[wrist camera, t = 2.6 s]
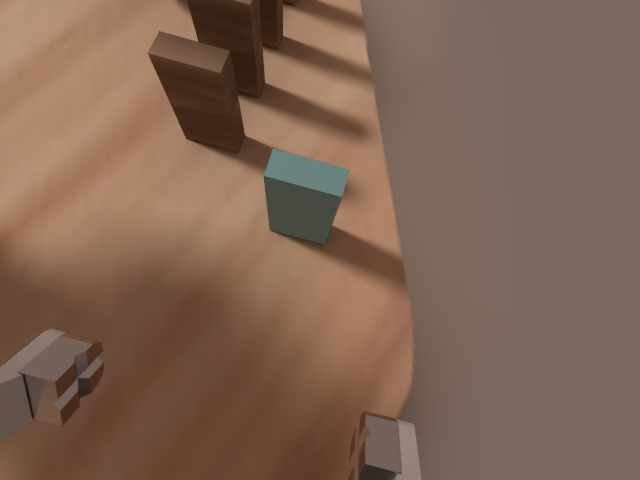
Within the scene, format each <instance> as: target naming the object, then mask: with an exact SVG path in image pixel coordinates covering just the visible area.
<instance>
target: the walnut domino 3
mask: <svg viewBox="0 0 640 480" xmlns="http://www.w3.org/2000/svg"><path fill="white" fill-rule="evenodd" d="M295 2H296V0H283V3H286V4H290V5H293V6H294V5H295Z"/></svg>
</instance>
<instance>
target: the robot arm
mask: <svg viewBox="0 0 640 480" xmlns="http://www.w3.org/2000/svg"><path fill="white" fill-rule="evenodd" d="M102 352H103V349H102V343H100V342H97V341H93V340H90V339H86V338H83V337H80V336H76V335H73V334H69V333H66V332H62V331H58V330H55V329H49V330H46V331H44V332H43V333H42V334H40V335H39V336H38V337H37V338H35V339H34V340H33V341H32V342H31V343H29V344H28V345H27V346H26V347H24V348H23V349H22V350H21V351H20V352H18V353H17V354H16V355H15V356H13V357H12V358H11V359H10V360H8V361H7V362H6V363H5V364H4V365H2V366H1V367H0V440H1V439H2V438H4V437H6V436H8V435H9V434H11V433H13V432H15V431H16V430H18V429H20V428H22V427H23V426H25V425H27V424H29V423H30V422H32V421H33V420H38V421H42V422H46V423H51V424H55V425H59V426H63V425H64V424H65V423H66V422H67V420H68V419H69V418H70V417H71V416H72V415H73V413H74V412H75V411H76V410H77V409H78V408H79V406H80V398H82V397H84V396H86V395H88V394H90V393H91V392H92V391H93V390H94V388H95V387H96V386H97V385H98V383H99V381H100V379H101V377H102V375H103V370H104V362H103V360H102V359H101V358H100V357H99V355H100V354H101V353H102ZM32 419H33V420H32ZM349 462H350V464H351V466H352V470H351V473H350V475H349V477H348V480H422V477H421V470H420V462H419V455H418V447H417V440H416V433H415V427H414V425H413V424H412V423H408V422H405V421H401V420H397V419H395V418H391V417H387V416H383V415H378V414H374V413H370V412H366V411H364V412H363V413H362V414H361V417H360V424H359V427H357V428H356V429H355V431H354V434H353V437H352V442H351V447H350V458H349Z"/></svg>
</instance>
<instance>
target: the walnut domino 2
mask: <svg viewBox="0 0 640 480" xmlns="http://www.w3.org/2000/svg"><path fill="white" fill-rule="evenodd" d="M148 55H149V57H150V59H151V61H152V64H153V66H154V68H155V70H156V72H157V75H158V77H159V79H160V81H161V84H162V86H163V88H164V90H165V92H166V95H167V97H168V99H169V101H170V104H171V106H172V108H173V110H174V112H175V115H176V117H177V119H178V121H179V124H180V126H181V128H182V130H183V132H184V135H185V137H186V139H189V140H193V141H196V142H200V143H204V144H207V145H211V146H215V147H218V148H222V149H226V150H229V151H233V152H237V153H238V152H239V149H240V147H241V144H242V142H243V139H244V136H245V133H244V128H243V122H242V116H241V111H240V105H239V100H238V94H237V88H236V83H235V77H234V72H233V66H232V60H231V55H230V51H229V50H225V49H222V48H218V47H214V46H211V45H207V44H204V43H200V42H196V41H193V40H189V39H186V38H182V37H178V36H175V35H171V34H168V33H164V32H160V31H159V33H158V35H157V37H156V39H155V40H154V42H153V44H152V46H151V48H150V50H149V52H148Z"/></svg>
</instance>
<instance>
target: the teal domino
mask: <svg viewBox="0 0 640 480" xmlns="http://www.w3.org/2000/svg"><path fill="white" fill-rule="evenodd" d="M348 173H349V169H346V168H342V167H338V166H335V165H331V164H327V163H324V162H320V161H317V160H313V159H309V158H306V157H302V156H298V155H295V154H291V153H287V152H284V151H280V150H276V149H273V150H272V153H271V156H270V159H269V162H268V165H267V168H266V171H265V173H264V183H265V192H266V201H267V210H268V219H269V228H270V230H272V231H275V232H279V233H283V234H286V235H290V236H294V237H297V238H301V239H305V240H308V241H312V242H316V243H319V244H323V245H325V243H326V240H327V237H328V235H329V232H330V229H331V226H332V224H333V221H334V218H335V215H336V213H337V210H338V207H339V205H340V202H341V199H342V196H343V192H344V188H345V184H346V180H347V176H348Z"/></svg>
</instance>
